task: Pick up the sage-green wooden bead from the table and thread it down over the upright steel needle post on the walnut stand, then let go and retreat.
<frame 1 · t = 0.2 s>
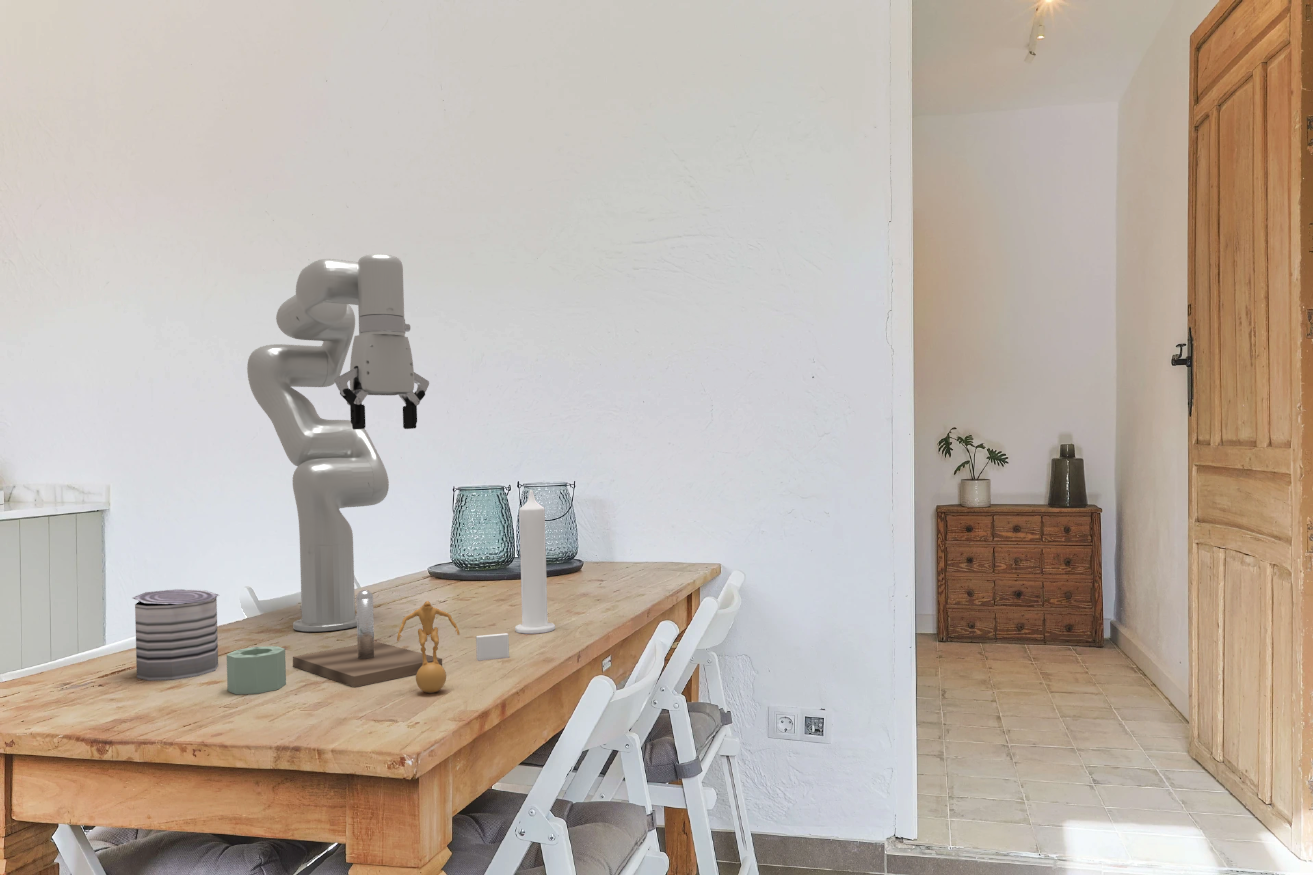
hand: (384, 428, 162), 36 cm above the table, tool pointing down, fingers open, 9 cm apart
stand board: (366, 667, 144), on the table
can: (178, 673, 145), on the table
needle post: (366, 657, 144), resting on stand board
bead: (257, 687, 133), on the table
figurine: (430, 691, 129), on the table
eraser: (492, 659, 148), on the table
candle: (535, 631, 170), on the table
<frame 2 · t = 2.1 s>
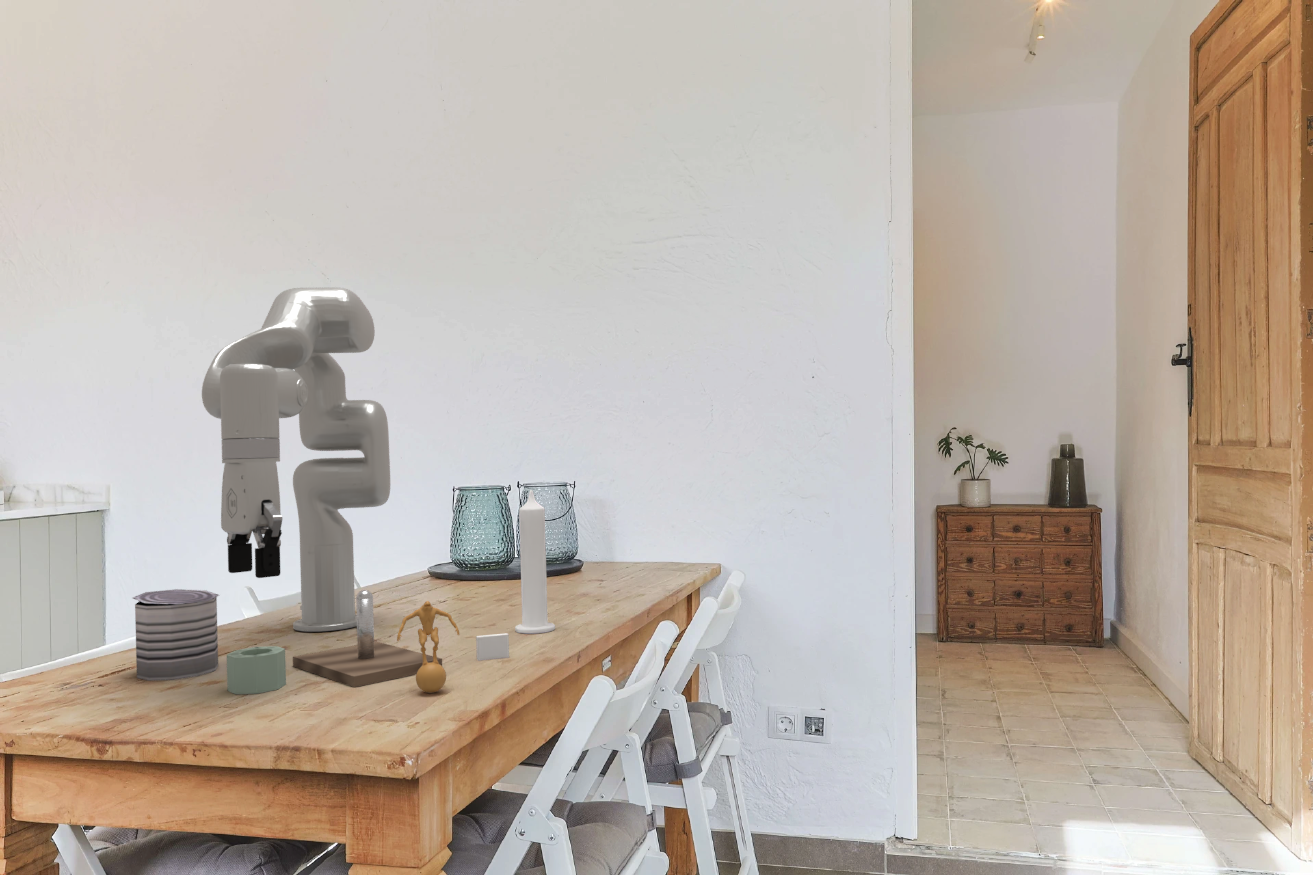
hand: (253, 574, 133), 16 cm above the table, tool pointing down, fingers open, 9 cm apart
nothing on the table moved.
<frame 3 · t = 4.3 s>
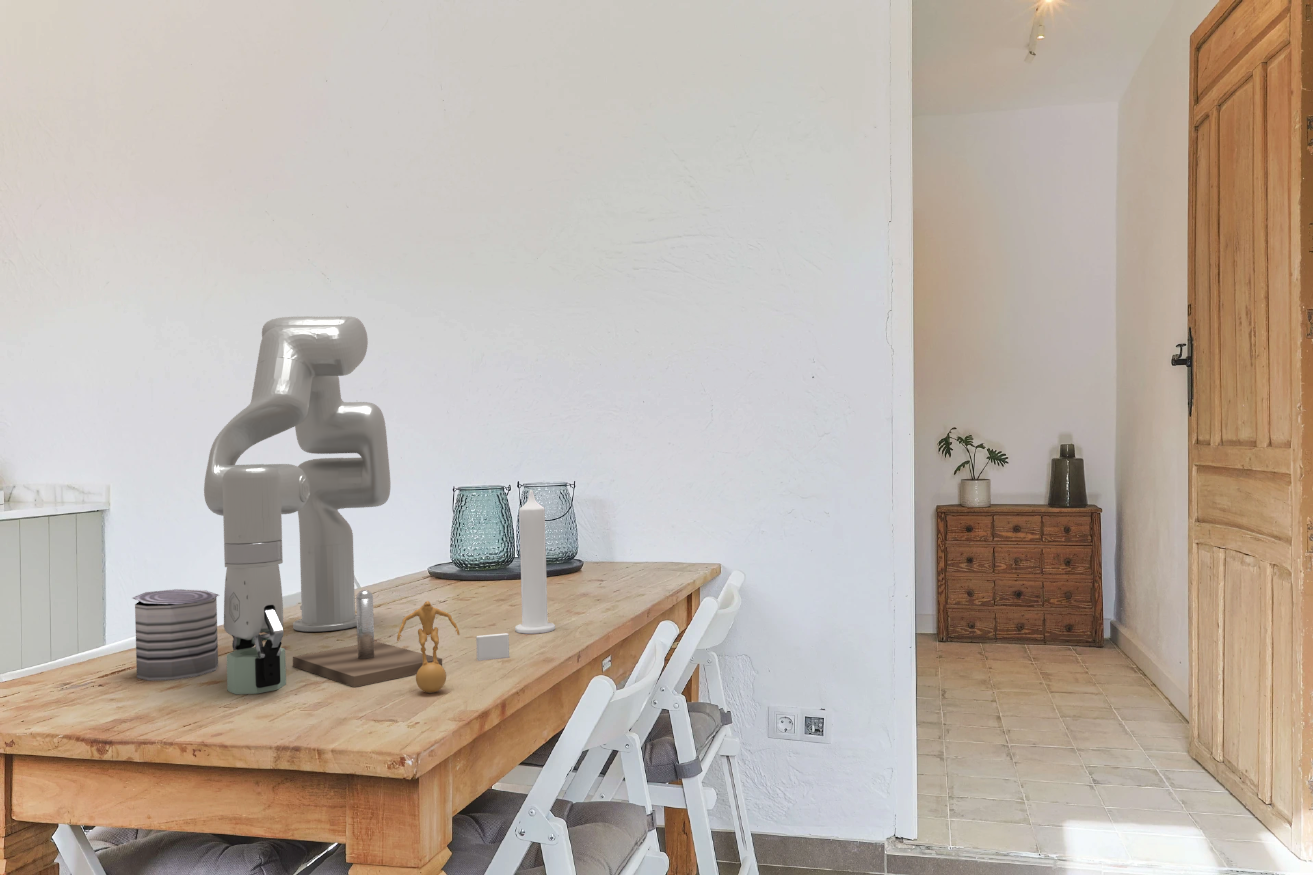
hand: (256, 680, 133), 1 cm above the table, tool pointing down, fingers closed on bead, 7 cm apart
bead: (257, 687, 133), on the table, touching gripper
everything else where it was.
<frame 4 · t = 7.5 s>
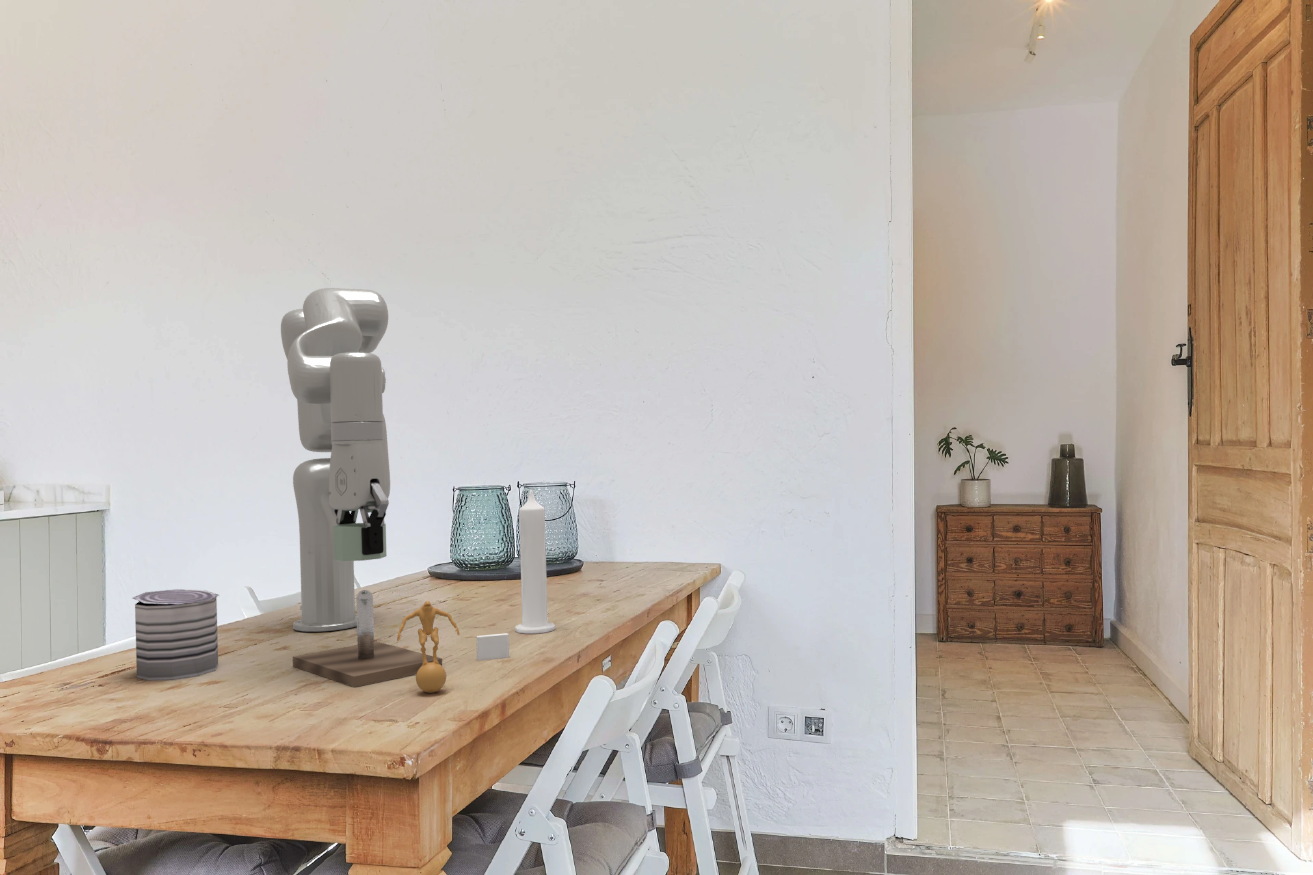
hand: (360, 551, 144), 18 cm above the table, tool pointing down, fingers closed on bead, 7 cm apart
bead: (360, 557, 144), point 17 cm above the table, touching gripper
everything else where it was.
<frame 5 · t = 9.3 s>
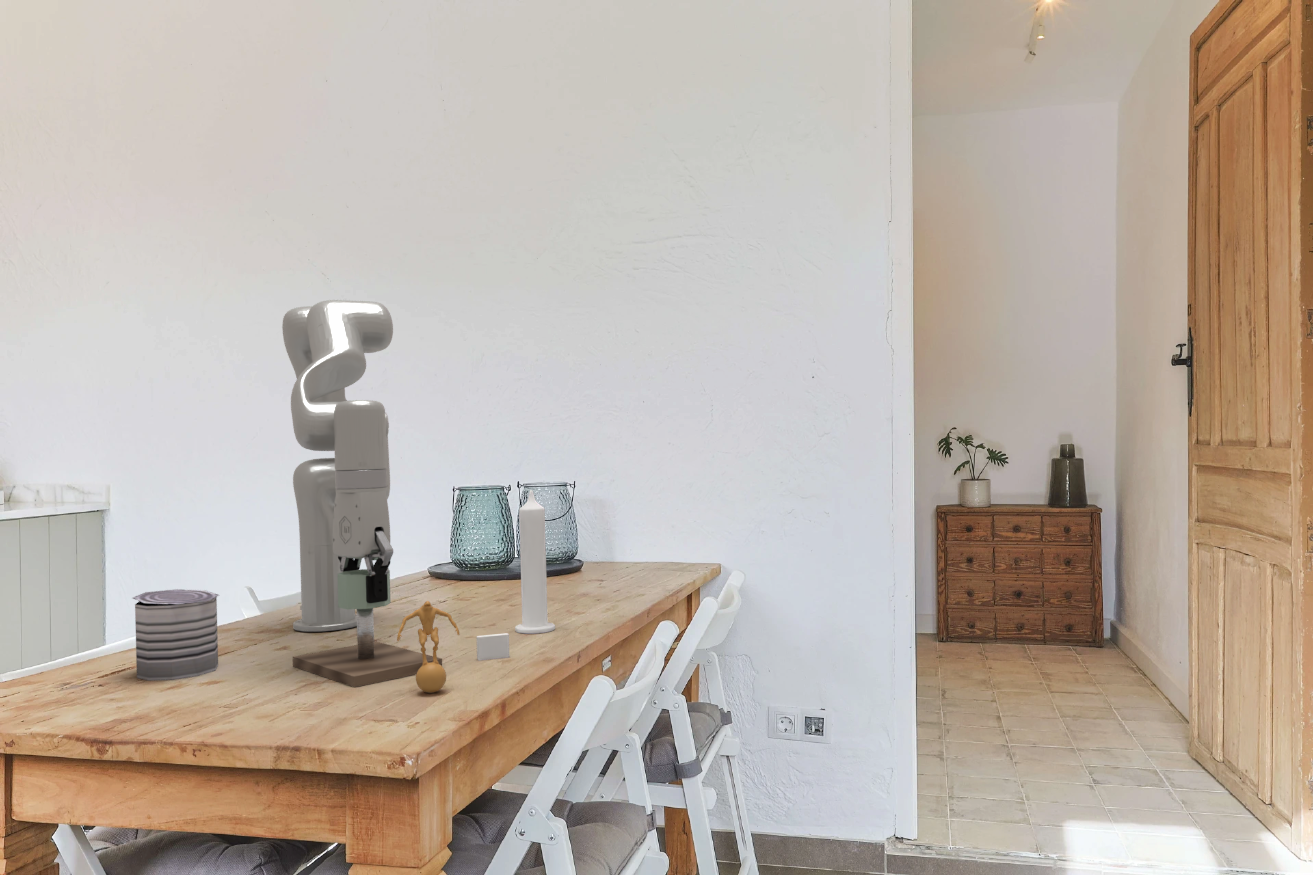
hand: (364, 598, 144), 10 cm above the table, tool pointing down, fingers closed on bead, 7 cm apart
bead: (364, 605, 144), point 9 cm above the table, touching gripper
everything else where it was.
when the fingers open (10 cm above the table, at t = 10.6 s): bead drops 8 cm, resting on stand board.
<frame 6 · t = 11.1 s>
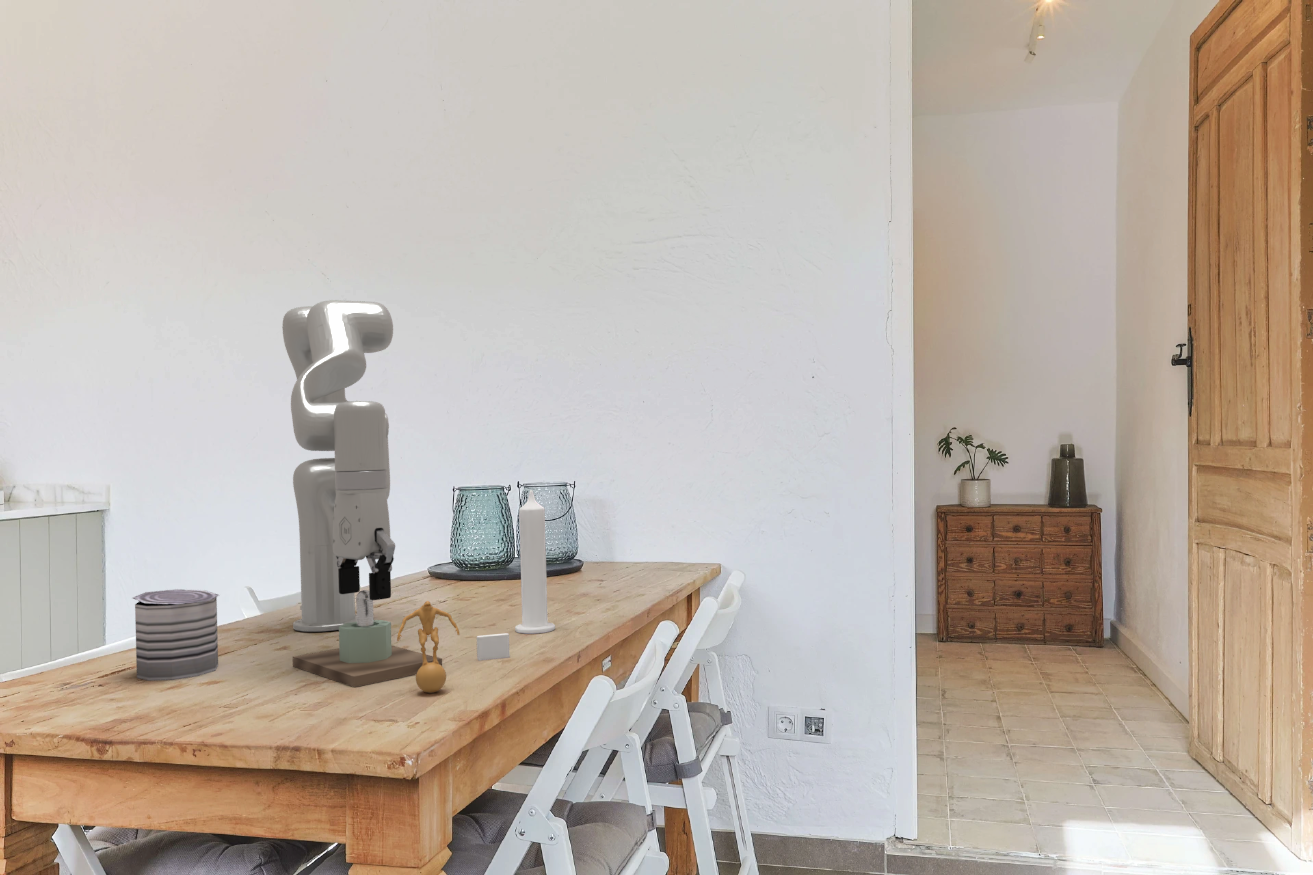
hand: (364, 595, 144), 11 cm above the table, tool pointing down, fingers open, 9 cm apart
bead: (366, 657, 144), point 1 cm above the table, touching stand board
everything else where it was.
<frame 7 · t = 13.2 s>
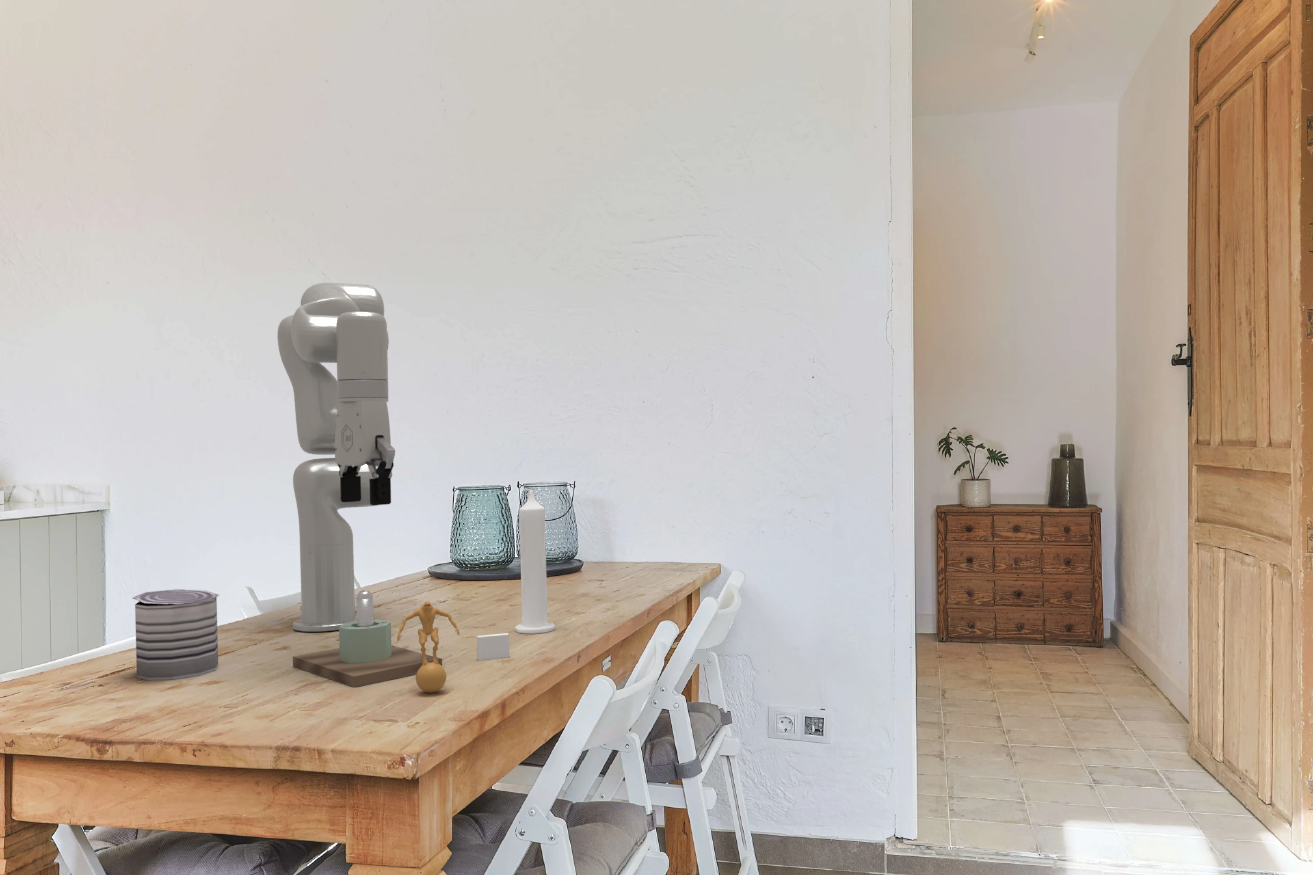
hand: (365, 503, 147), 25 cm above the table, tool pointing down, fingers open, 9 cm apart
nothing on the table moved.
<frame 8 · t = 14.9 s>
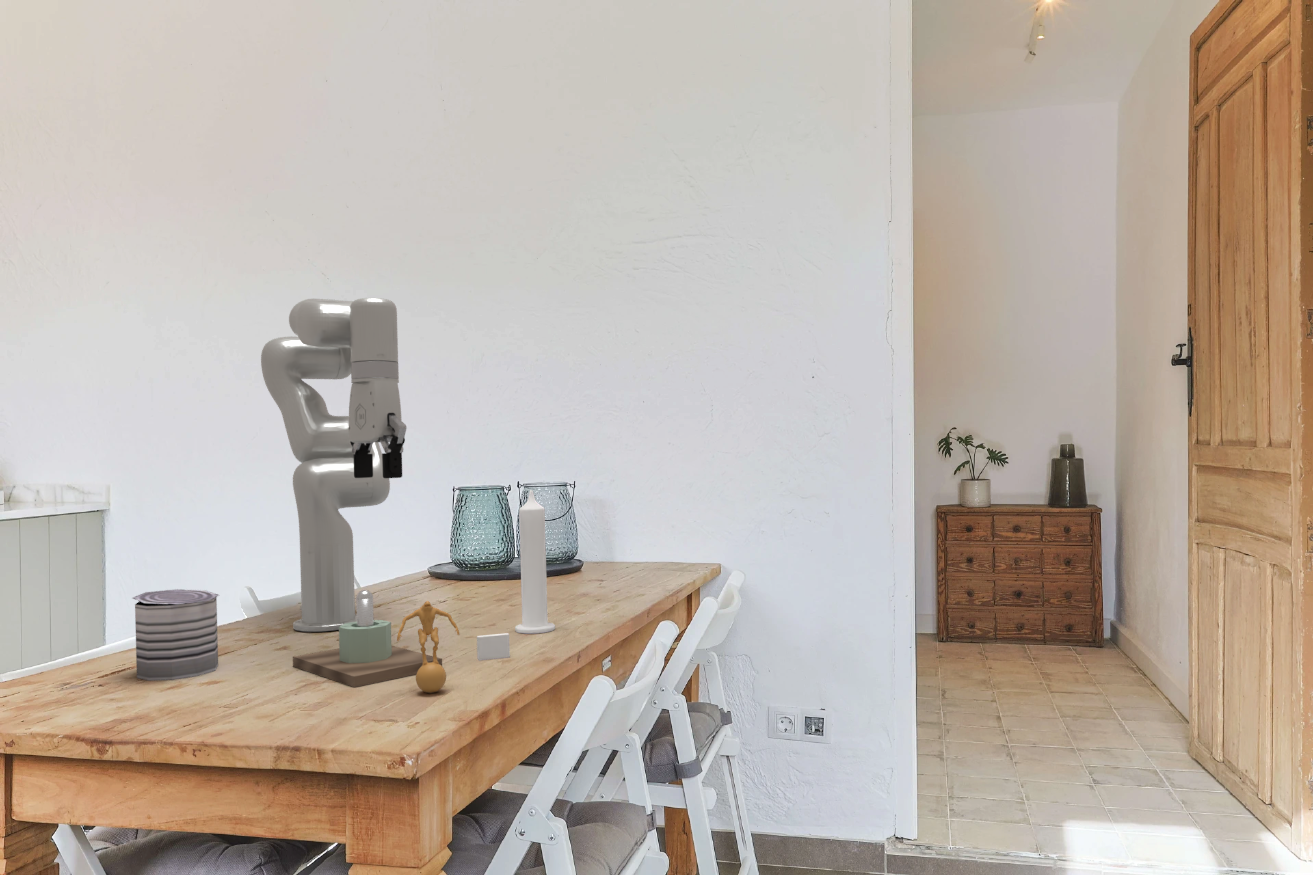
hand: (377, 477, 157), 28 cm above the table, tool pointing down, fingers open, 9 cm apart
nothing on the table moved.
at the end: bead 0.0 cm from the needle post (horizontally); bead point 1.5 cm above the table; the gripper is holding nothing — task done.
